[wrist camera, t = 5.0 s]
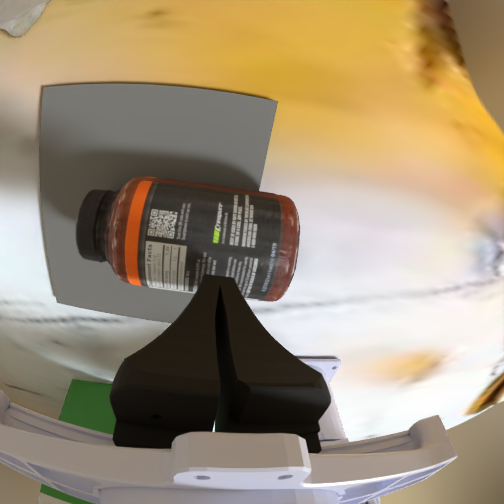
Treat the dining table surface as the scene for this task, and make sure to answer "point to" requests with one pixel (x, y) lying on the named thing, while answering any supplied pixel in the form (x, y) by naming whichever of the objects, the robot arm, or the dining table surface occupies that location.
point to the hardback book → (82, 425)
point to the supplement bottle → (191, 235)
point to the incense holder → (20, 15)
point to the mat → (137, 170)
